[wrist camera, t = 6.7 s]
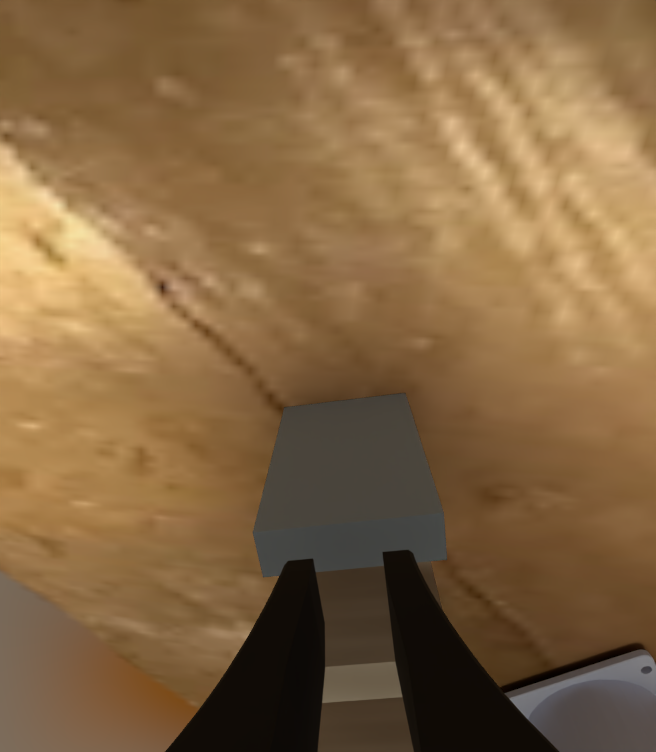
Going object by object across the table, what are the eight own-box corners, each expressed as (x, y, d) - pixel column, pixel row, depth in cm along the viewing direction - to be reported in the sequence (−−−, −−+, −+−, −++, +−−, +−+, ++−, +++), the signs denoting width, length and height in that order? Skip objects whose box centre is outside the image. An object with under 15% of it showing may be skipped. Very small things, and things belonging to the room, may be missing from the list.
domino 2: (417, 524, 22) (456, 693, 15) (308, 535, 23) (293, 704, 15) (414, 497, 22) (453, 656, 14) (303, 508, 22) (285, 670, 15)
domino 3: (424, 609, 24) (462, 798, 17) (323, 618, 25) (315, 806, 17) (422, 585, 24) (460, 769, 16) (318, 594, 24) (309, 778, 17)
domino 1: (408, 425, 21) (446, 559, 13) (290, 439, 21) (262, 577, 14) (405, 392, 20) (443, 513, 13) (284, 407, 21) (252, 532, 13)
